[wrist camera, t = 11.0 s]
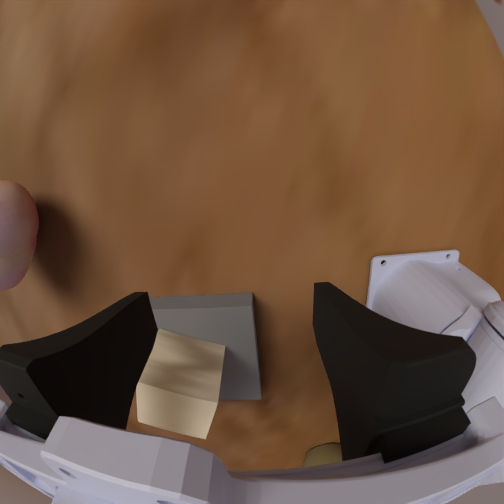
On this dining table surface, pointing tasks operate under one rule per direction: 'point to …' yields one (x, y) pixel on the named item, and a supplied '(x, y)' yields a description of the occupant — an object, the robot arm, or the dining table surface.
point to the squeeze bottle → (323, 455)
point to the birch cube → (180, 384)
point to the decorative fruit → (16, 233)
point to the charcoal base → (218, 335)
